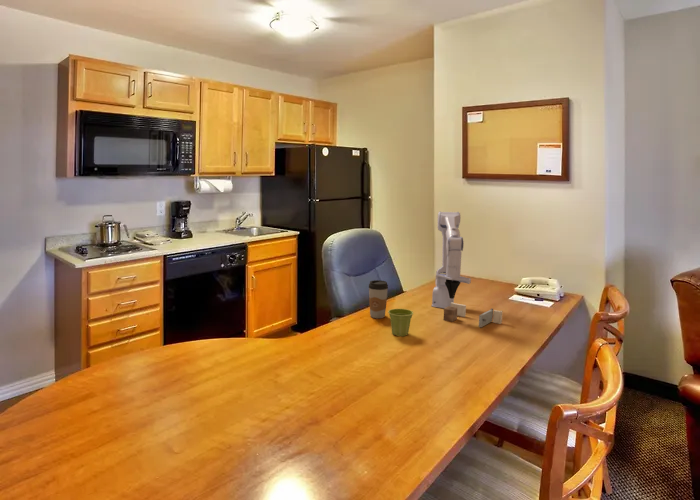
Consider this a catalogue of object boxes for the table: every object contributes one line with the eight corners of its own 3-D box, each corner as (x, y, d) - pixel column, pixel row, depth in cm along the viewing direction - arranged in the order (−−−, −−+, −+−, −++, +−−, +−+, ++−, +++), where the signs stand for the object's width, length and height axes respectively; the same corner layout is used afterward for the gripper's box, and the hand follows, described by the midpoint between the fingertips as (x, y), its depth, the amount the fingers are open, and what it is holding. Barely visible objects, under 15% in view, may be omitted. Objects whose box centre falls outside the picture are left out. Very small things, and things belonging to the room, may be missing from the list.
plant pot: (385, 329, 172) (386, 308, 171) (409, 329, 173) (410, 308, 171) (389, 338, 163) (390, 315, 161) (415, 338, 164) (415, 315, 162)
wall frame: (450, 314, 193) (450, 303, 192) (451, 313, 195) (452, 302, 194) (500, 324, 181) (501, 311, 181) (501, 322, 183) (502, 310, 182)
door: (483, 327, 175) (484, 315, 174) (478, 326, 177) (479, 314, 176) (495, 321, 184) (496, 309, 183) (490, 320, 185) (491, 308, 184)
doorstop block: (443, 320, 185) (444, 308, 185) (447, 317, 190) (448, 306, 189) (452, 322, 183) (453, 310, 182) (456, 319, 187) (457, 307, 187)
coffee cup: (365, 317, 187) (365, 283, 185) (371, 312, 195) (372, 279, 192) (383, 320, 184) (384, 285, 181) (389, 314, 191) (390, 281, 189)
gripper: (433, 265, 183) (431, 297, 186) (467, 269, 175) (465, 302, 178) (439, 263, 189) (438, 293, 191) (473, 267, 181) (471, 299, 183)
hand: (451, 297), depth 185 cm, fingers closed
